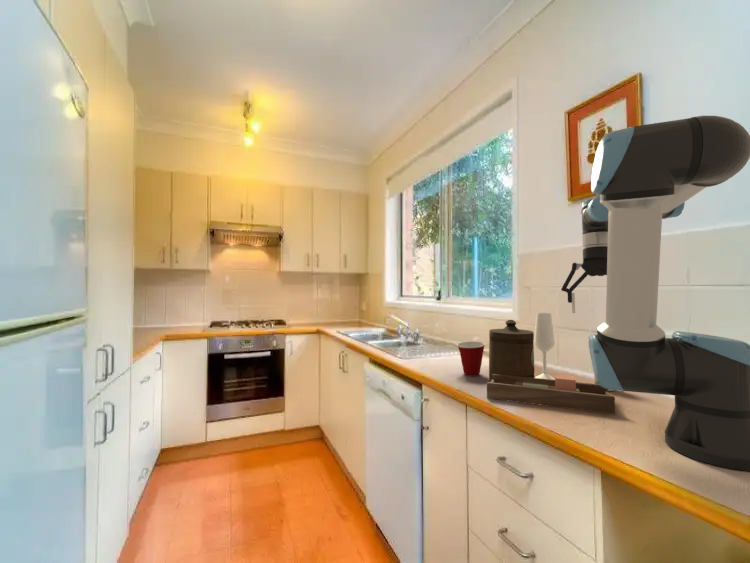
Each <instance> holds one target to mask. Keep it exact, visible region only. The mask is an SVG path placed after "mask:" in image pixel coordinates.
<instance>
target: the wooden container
mask: <svg viewBox="0 0 750 563" xmlns="http://www.w3.org/2000/svg"><path fill="white" fill-rule="evenodd" d="M516 324H517V322H516V320H514V319H508V320H506V321H505V327H503V328H493V329H489V332H488V333H489V334H488V335H489V336H488V337H489V342H488V352H489V353H488V375H489V376H488V380H489V381H488V382H491V380H492V374H499V375H509V376H520V377H530V378H535V355H534V354H535V353H534V352H535V351H534V348H535V347H534V346H535V344H534V338H535V331H533V330H529V329H522V328H521V329H520V328H518V327H517V325H516Z"/></svg>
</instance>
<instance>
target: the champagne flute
mask: <svg viewBox="0 0 750 563" xmlns="http://www.w3.org/2000/svg"><path fill="white" fill-rule="evenodd" d="M535 314H536V315H535V328H534V341H533V344H534V346H535V347H536V348H537V349H538V350H540V352H542V373H541V374H539V375H537V376H534V378H540V379H550V380H555V377H553V376H551V375H549V374H548V373H547V352H549V351H550V350H552V349H553V347H554V346H555V334H554V326H553V321H552V313H551V312H542V311H541V312H540V311H538V312H536V313H535Z"/></svg>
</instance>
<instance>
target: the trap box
mask: <svg viewBox="0 0 750 563" xmlns="http://www.w3.org/2000/svg"><path fill="white" fill-rule="evenodd" d="M491 398H494V399H493V400H499V399H501V400H500V401H507V400H509V402H515V401H518V402H517V403H522V402H526V403H525V404H530V403H534V404H533V405H538V404H541V405H540V406H546V405H548V406H547V407H553V406H554V408H555V407H556V408H561V407H562V408H564V409H569V410H570V409H571V410H577V411H585V412H586V411H587V412H593V413H601V414H608V415H616V401H615V400H616V397H615V395H611V393H610V391H608V389H606V388H603V387H602V386H600V385H599V384H595V383H589V382H580V381H579V382H577V381H576V392H575V391H566V390H557V389H555V380H550V379H540V378H535V377H534V378H530V377H520V376H509V375H499V374H492V380H491V382H490V381H487V382H486V399H491Z"/></svg>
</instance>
